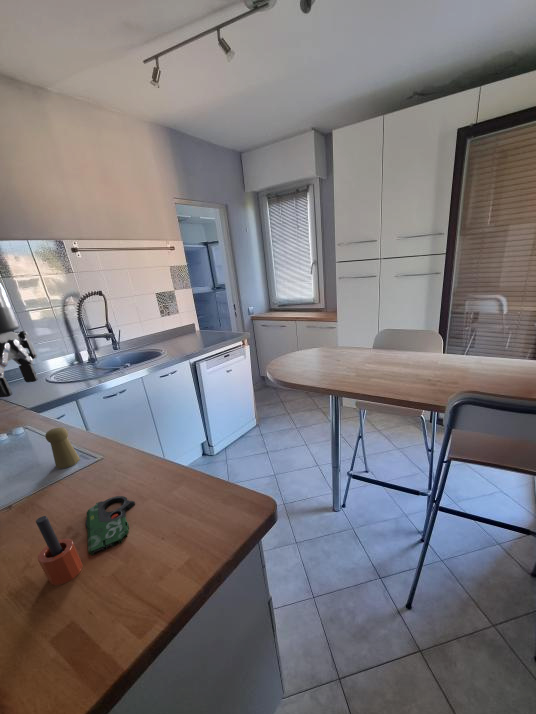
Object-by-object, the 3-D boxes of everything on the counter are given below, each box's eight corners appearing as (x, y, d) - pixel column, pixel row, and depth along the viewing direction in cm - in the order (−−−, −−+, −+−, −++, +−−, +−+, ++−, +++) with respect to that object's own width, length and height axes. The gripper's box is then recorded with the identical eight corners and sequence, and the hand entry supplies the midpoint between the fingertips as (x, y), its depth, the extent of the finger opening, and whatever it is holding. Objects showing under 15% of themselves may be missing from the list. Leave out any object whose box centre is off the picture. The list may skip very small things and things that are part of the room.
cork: (52, 465, 97) (38, 431, 93) (74, 455, 101) (61, 422, 97) (61, 471, 94) (46, 436, 89) (83, 460, 98) (71, 427, 94)
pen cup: (44, 589, 59) (31, 564, 56) (59, 564, 63) (47, 541, 61) (75, 583, 59) (63, 559, 57) (88, 559, 64) (77, 536, 62)
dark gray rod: (59, 576, 60) (33, 523, 55) (64, 568, 62) (38, 516, 57) (69, 574, 61) (43, 521, 56) (73, 567, 62) (48, 515, 57)
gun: (141, 531, 68) (85, 554, 63) (143, 536, 69) (88, 559, 64) (131, 490, 81) (84, 507, 76) (133, 495, 82) (86, 512, 77)
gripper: (-11, 303, 67) (21, 379, 74) (-72, 314, 54) (-27, 404, 61) (29, 300, 68) (57, 375, 74) (-22, 310, 55) (17, 399, 61)
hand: (19, 388), depth 68 cm, fingers open, 8 cm apart
